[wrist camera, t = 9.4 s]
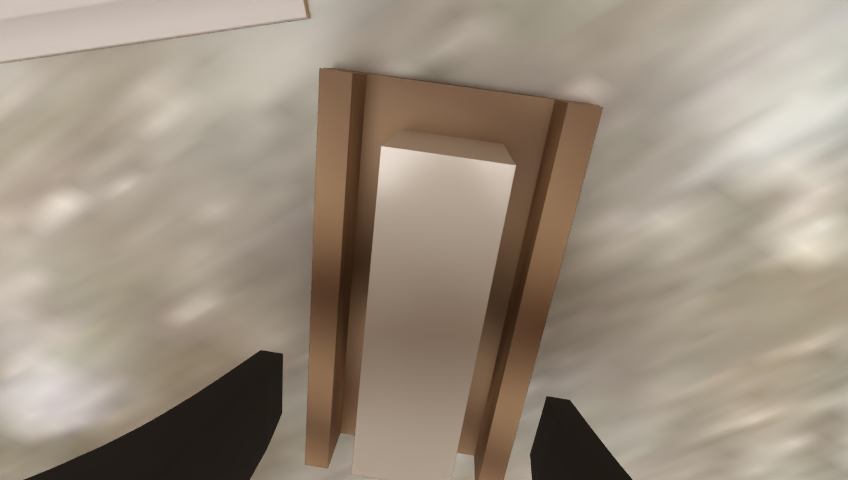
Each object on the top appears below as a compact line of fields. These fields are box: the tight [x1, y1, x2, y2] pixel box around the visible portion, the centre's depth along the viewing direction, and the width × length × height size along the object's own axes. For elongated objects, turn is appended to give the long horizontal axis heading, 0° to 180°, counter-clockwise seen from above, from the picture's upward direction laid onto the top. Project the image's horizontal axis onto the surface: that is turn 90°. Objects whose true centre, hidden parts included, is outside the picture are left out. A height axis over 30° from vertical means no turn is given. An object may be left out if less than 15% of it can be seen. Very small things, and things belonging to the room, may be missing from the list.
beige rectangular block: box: [351, 130, 516, 480], centre depth 15 cm, size 12×4×4 cm, turn 173°
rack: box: [305, 68, 603, 480], centre depth 17 cm, size 16×9×3 cm, turn 173°
